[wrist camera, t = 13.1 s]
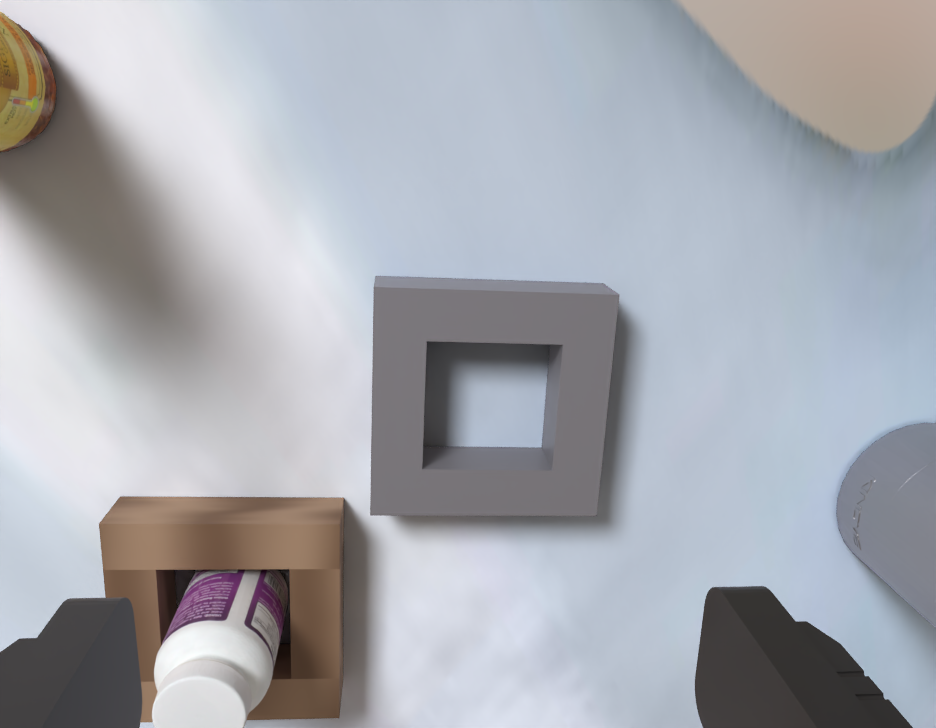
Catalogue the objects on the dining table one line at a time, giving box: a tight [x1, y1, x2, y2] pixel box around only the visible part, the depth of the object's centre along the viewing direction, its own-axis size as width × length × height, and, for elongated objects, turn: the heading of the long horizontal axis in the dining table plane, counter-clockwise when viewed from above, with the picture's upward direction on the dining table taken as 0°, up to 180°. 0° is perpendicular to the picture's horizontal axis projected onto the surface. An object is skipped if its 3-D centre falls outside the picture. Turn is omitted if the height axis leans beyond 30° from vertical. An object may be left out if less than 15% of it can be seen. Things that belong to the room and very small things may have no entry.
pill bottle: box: [152, 569, 288, 728], centre depth 38 cm, size 5×5×10 cm
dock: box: [99, 497, 344, 722], centre depth 41 cm, size 12×12×3 cm
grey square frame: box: [370, 276, 619, 516], centre depth 39 cm, size 12×12×3 cm
